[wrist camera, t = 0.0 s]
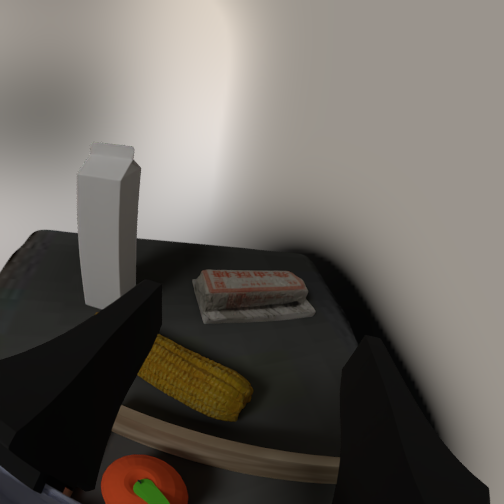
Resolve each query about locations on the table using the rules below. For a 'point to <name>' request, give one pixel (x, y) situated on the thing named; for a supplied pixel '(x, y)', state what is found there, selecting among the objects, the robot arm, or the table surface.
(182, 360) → the food
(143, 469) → the clementine
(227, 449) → the crate
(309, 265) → the table surface
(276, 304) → the packaged product
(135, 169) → the milk
